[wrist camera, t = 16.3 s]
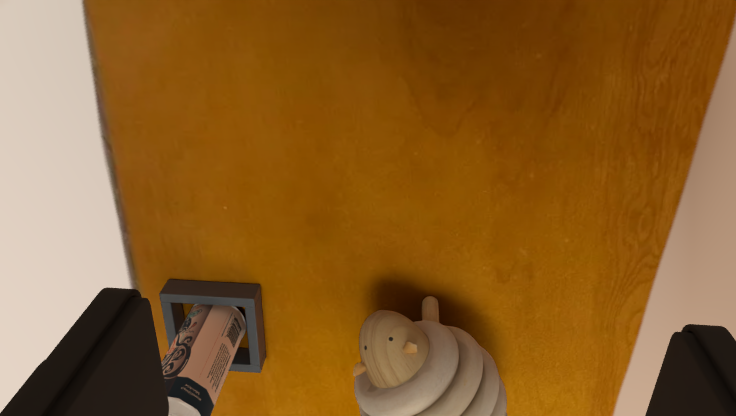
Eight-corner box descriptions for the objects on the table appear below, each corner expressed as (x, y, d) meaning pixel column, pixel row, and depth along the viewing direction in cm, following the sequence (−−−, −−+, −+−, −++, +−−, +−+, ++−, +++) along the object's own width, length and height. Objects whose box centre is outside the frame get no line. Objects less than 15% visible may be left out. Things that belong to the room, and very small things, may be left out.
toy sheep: (429, 243, 44) (432, 342, 35) (543, 388, 50) (573, 509, 40) (319, 307, 48) (293, 413, 38) (437, 436, 53) (440, 557, 44)
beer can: (198, 286, 48) (135, 398, 37) (255, 307, 48) (208, 423, 38) (184, 329, 50) (120, 446, 39) (238, 349, 51) (190, 470, 40)
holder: (168, 278, 48) (158, 293, 46) (260, 284, 47) (253, 299, 46) (180, 351, 51) (172, 367, 49) (266, 356, 51) (260, 373, 49)
